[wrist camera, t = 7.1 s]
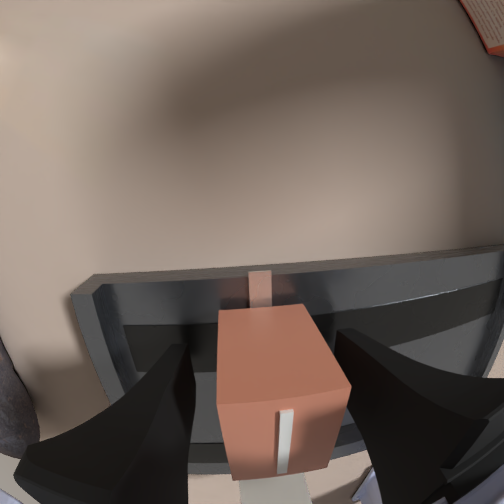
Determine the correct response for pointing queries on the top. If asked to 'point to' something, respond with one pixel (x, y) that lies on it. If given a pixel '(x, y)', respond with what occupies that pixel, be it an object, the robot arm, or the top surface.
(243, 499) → the fader cream
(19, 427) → the perforated stone tool
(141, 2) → the top surface
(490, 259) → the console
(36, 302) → the top surface
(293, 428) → the fader red
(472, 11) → the cracker box
